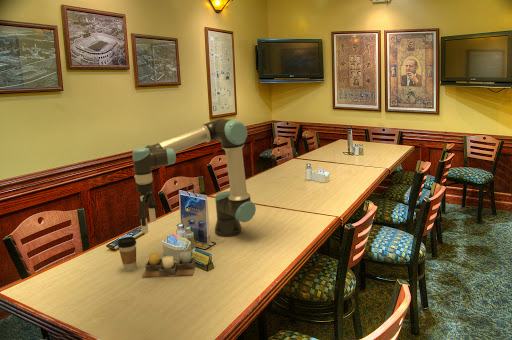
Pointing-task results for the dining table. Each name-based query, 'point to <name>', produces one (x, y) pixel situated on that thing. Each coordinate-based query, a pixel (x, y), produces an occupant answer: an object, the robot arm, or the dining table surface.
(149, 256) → the mustard button
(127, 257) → the coffee cup
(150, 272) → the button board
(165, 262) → the beige round cylinder
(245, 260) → the dining table surface
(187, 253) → the slate button
